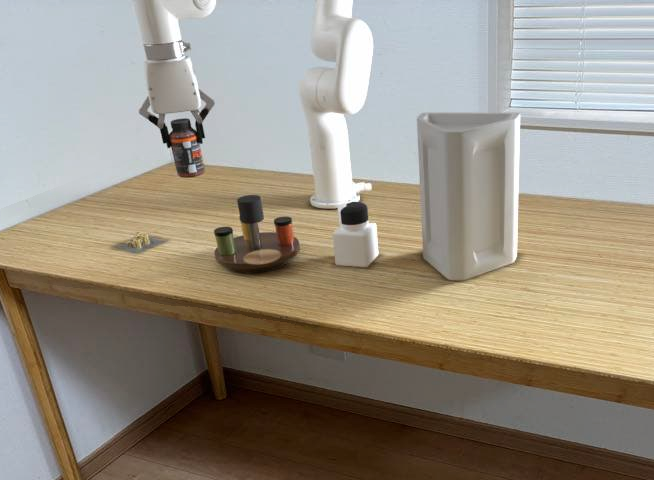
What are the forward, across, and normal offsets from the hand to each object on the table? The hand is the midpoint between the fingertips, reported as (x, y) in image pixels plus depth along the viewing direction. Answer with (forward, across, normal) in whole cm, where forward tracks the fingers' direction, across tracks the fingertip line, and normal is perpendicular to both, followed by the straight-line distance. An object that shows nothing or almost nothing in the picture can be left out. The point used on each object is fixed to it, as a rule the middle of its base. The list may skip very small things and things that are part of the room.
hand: (185, 143), depth 163 cm
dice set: (+23, +15, -7) cm, 28 cm away
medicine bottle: (+23, -31, +22) cm, 44 cm away
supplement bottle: (+7, 0, 0) cm, 7 cm away
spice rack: (+21, -11, +15) cm, 28 cm away
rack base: (+23, -11, +14) cm, 29 cm away
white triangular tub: (+23, -51, +33) cm, 65 cm away
